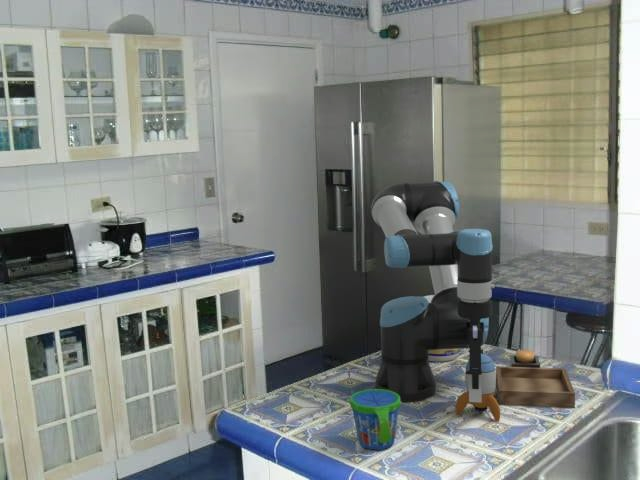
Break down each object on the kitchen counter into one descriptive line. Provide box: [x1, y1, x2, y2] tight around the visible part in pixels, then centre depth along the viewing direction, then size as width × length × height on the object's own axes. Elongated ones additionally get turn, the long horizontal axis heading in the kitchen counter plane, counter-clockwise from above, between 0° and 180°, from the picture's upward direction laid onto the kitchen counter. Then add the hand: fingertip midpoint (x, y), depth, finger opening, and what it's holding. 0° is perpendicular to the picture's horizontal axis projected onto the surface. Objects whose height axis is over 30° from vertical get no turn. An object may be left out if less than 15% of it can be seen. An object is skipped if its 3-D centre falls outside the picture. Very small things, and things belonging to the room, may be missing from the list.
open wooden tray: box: [495, 365, 576, 409], centre depth 171 cm, size 17×17×4 cm
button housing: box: [509, 354, 541, 368], centre depth 184 cm, size 7×7×4 cm
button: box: [515, 349, 535, 363], centre depth 184 cm, size 5×5×2 cm
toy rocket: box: [454, 353, 501, 422], centre depth 159 cm, size 10×11×15 cm
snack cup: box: [349, 388, 402, 451], centre depth 147 cm, size 16×10×10 cm
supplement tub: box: [423, 294, 461, 363], centre depth 200 cm, size 12×12×17 cm
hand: (475, 391), depth 160 cm, fingers open, 11 cm apart
